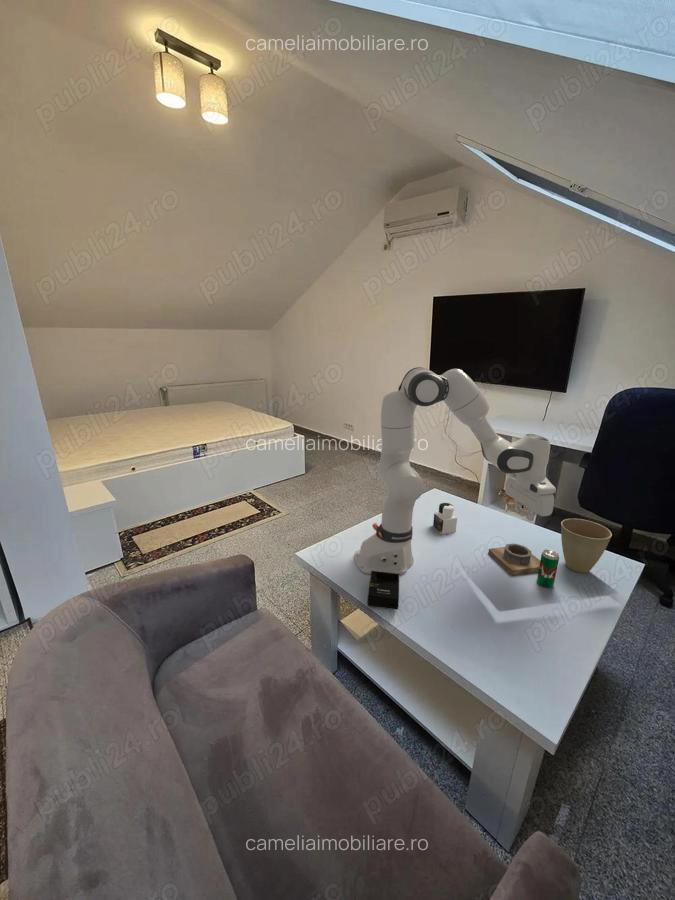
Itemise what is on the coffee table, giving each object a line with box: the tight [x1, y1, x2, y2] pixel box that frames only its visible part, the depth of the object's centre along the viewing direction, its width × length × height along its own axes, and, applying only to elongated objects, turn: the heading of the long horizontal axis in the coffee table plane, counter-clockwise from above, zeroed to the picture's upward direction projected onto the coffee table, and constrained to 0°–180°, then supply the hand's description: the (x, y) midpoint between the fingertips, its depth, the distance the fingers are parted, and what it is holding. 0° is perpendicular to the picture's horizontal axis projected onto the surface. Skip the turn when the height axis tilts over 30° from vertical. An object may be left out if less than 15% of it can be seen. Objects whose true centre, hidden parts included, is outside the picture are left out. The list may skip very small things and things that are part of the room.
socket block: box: [487, 543, 541, 576], centre depth 134 cm, size 14×14×5 cm
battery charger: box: [366, 571, 400, 611], centre depth 117 cm, size 13×10×4 cm
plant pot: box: [560, 518, 613, 574], centre depth 129 cm, size 15×15×16 cm
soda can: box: [536, 548, 560, 588], centre depth 121 cm, size 5×5×12 cm
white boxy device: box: [432, 502, 458, 535], centre depth 155 cm, size 7×7×12 cm
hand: (524, 515), depth 129 cm, fingers open, 5 cm apart
